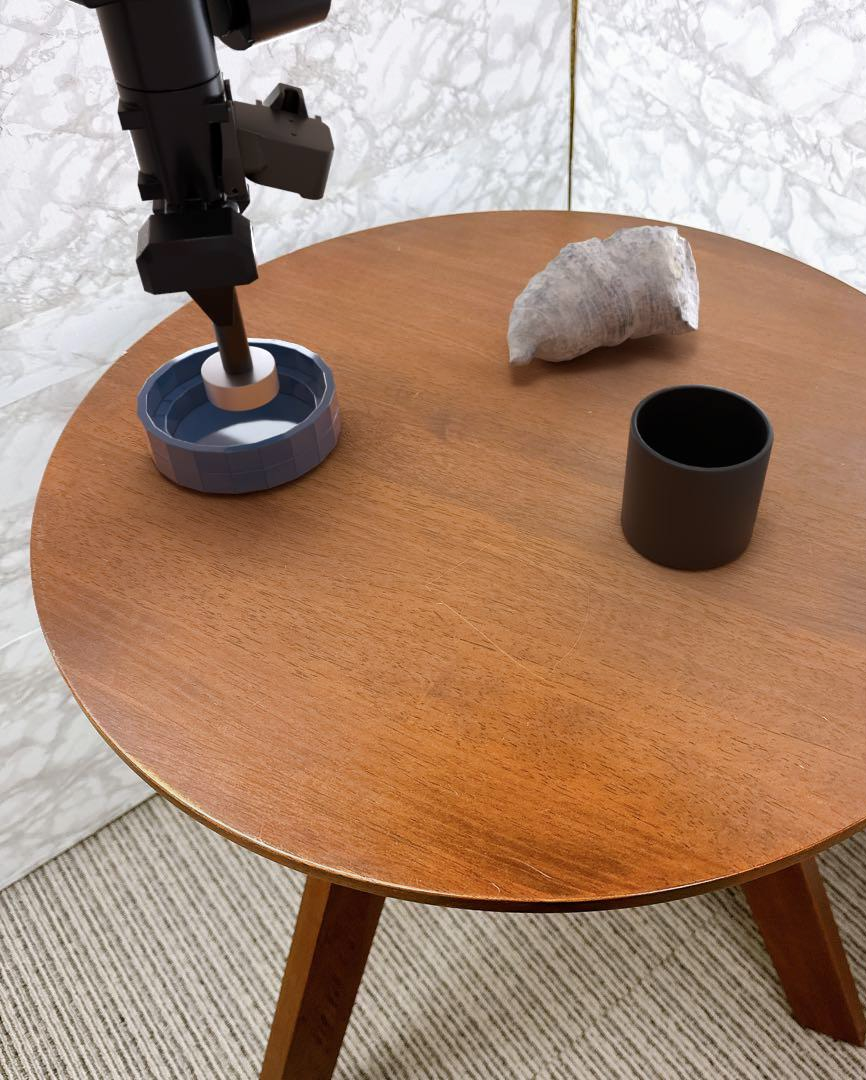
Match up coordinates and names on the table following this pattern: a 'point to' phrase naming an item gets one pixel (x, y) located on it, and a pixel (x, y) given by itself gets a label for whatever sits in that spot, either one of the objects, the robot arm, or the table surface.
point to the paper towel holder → (239, 369)
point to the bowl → (239, 423)
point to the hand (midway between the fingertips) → (225, 315)
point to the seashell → (606, 295)
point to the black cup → (694, 475)
